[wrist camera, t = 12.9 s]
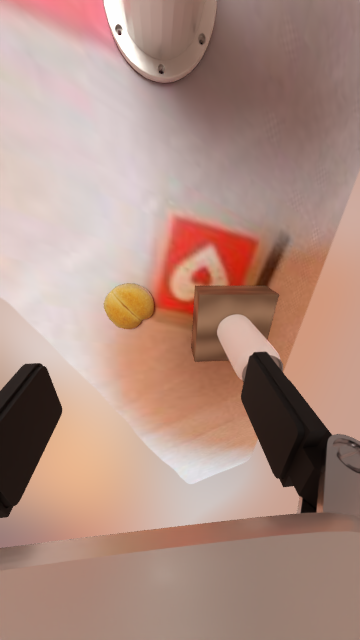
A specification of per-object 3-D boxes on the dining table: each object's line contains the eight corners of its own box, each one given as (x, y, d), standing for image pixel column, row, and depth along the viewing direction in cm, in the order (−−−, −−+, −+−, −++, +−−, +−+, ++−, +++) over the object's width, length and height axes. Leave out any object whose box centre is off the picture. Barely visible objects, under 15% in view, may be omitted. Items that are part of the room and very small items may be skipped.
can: (226, 308, 36) (256, 346, 25) (256, 319, 37) (296, 360, 27) (210, 337, 38) (230, 384, 28) (239, 347, 40) (268, 395, 29)
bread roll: (161, 305, 40) (162, 314, 37) (127, 330, 42) (124, 340, 38) (134, 271, 37) (131, 277, 33) (97, 299, 38) (91, 308, 35)
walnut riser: (195, 285, 39) (199, 294, 34) (265, 285, 40) (279, 294, 36) (191, 347, 45) (194, 361, 40) (252, 345, 46) (262, 359, 42)
